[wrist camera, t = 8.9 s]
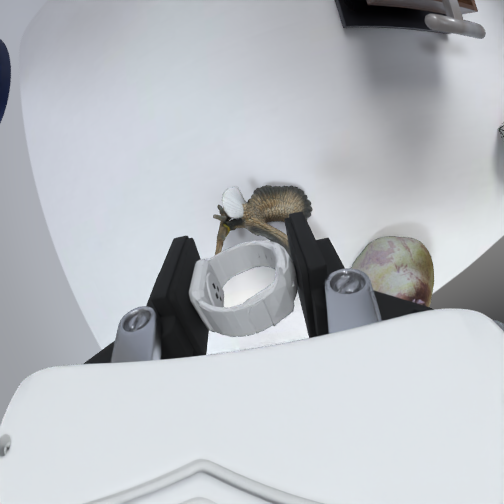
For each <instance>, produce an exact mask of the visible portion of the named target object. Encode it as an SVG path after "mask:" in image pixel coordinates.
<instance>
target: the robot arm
mask: <svg viewBox="0 0 504 504" xmlns="http://www.w3.org/2000/svg"><path fill="white" fill-rule="evenodd" d="M284 220H285V226H286V231H287V237H288V243H289V248H290V254H291V260H292V262H293V263H294V267H295V270H296V277H297V284H298V285H297V290H298V294H299V298H300V302H301V306H302V310H303V314H304V318H305V322H306V326H307V330H308V335H309V338H307V339H302V340H297V341H292V342H287V343H282V344H276V345H270V346H265V347H259V348H252V349H246V350H240V351H233V352H226V353H218V354H210V355H206V351H207V342H208V333H209V330H208V329H207V327H206V326H205V324H204V322H203V321H202V319H201V318H200V316H199V314H198V313H197V311H196V309H195V308H194V306H193V304H192V302H191V300H190V299H189V297H190V296H189V289H190V284H191V280H192V275H193V271H194V267H195V264H196V262H197V261H199V260H201V259H200V256H199V253H198V251H197V248H196V245H195V242H194V240H193V238H188V236H183V237H178V238H174V239H173V242H172V244H171V246H170V249H169V251H168V254H167V256H166V259H165V261H164V263H163V266H162V268H161V271H160V273H159V274H158V277H157V279H156V282H155V285H154V287H153V290H152V292H151V295H150V298H149V300H148V303H147V306H143V307H138V308H135V309H133V310H131V311H129V312H128V313H127V314H126V315H124V316H123V318H122V319H121V320H120V323H119V326H118V330H117V334H116V339H115V341H114V342H112V343H111V344H110V345H108V346H107V347H106V348H104V349H103V350H102V351H100V352H99V353H97V354H96V355H95V356H93V357H92V358H91V359H89V360H88V361H87V362H85V363H84V364H77V365H62V366H54V367H50V368H46V369H43V370H40V371H38V372H35V373H33V374H32V375H30V376H28V377H27V378H26V379H24V380H23V381H22V382H21V384H20V385H19V387H18V389H17V390H16V392H15V394H14V396H13V398H12V400H11V402H10V404H9V406H8V408H7V410H6V413H5V415H4V417H3V420H2V422H1V425H0V504H504V324H502V323H501V322H499V321H495V320H491V319H490V318H489V317H487V316H485V315H484V314H482V313H480V312H477V311H472V310H466V309H437V310H434V309H432V308H430V307H427V306H424V305H421V304H417V303H414V302H411V301H407V300H404V299H401V298H398V297H394V296H391V295H388V294H385V293H381V292H378V291H375V290H373V287H372V284H371V281H370V278H369V277H368V275H367V274H366V273H364V272H363V271H360V270H357V269H352V268H350V269H345V268H344V266H343V264H342V262H341V260H340V258H339V256H338V255H337V253H336V251H335V249H334V247H333V245H332V243H331V242H330V240H329V238H324V239H319V240H315V238H314V235H313V233H312V231H311V229H310V227H309V225H308V223H307V220H306V218H305V216H304V214H303V212H302V211H301V212H296V213H291V214H289V218H284Z"/></svg>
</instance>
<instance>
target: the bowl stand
mask: <svg viewBox="0 0 504 504" xmlns="http://www.w3.org/2000/svg"><path fill="white" fill-rule="evenodd" d="M335 1H336V4H337V8H338V11H339V14H340V17H341V21H342V24H343V28H350V27H381V28H402V29H414V30H424V31H432V32H439V33H446V34H449V33H448V32H442V31H435V30H432V29H430V28H429V27H428V26H427V25H426V24H425V16H426V15H428V14H438V15H443V16H447V15H446V14H442V13H436V12H430V11H424V10H417V9H409V8H401V7H390V6H374V5H368V4H367V0H335Z"/></svg>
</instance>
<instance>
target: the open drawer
mask: <svg viewBox="0 0 504 504" xmlns="http://www.w3.org/2000/svg"><path fill="white" fill-rule="evenodd" d="M367 4H368V5H374V6H390V7H401V8H409V9H417V10H424V11H430V12H436V13H442V14H446V15H447V16H443V15H438V14H428V15H426V16H425V24H426V25H427V26H428V27H429V28H430V29H432V30H435V31H442V32H448V33H454V34H459V35H464V36H469V37H474V38H478V39H482V38H484V37H485V34H486V33H485V29H484V28H483V27H482V26H481V25H480V24H477V23H474V22H470V21H466V20H463V17H462V14H466V13H472V12H478V10H477V7H476V4H475V1H474V0H367Z"/></svg>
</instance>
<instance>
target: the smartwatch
mask: <svg viewBox="0 0 504 504" xmlns="http://www.w3.org/2000/svg"><path fill="white" fill-rule="evenodd" d="M261 266H265V267H271V268H273V269H275V270H276V273H275V280H274V282H273V283H272V284H271V285H269V286H268V287H266V288H265V289H263V290H262V291H260V292H258V293H257V294H255V295H254V296H252V297H251V298H249V299H248V300H247V301H245V302H244V303H243V304H240V305H237V306H233V307H230V308H225V307H224V291H223V289H222V288H223V286H224V285H225V284H226V282H227V281H229V280H230V279H231V278H232V277H234V276H236V275H238V274H241V273H243V272H245V271H248V270H250V269H252V268H254V267H261ZM297 285H298V284H297V277H296V270H295V267H294V263H293V262H292V260H291V258H290V256H289V255H288V253H287V252H286V250H285V249H284V247H282V246H281V245H280V244H278V243H275V242H272V241H268V240H262V241H250V242H246V243H243V244H239V245H236V246H233V247H231V248H228V249H226V250H224V251H222V252H220V253H218V254H216V255H214V256H213V257H211V258H210V259H206V260H205V259H201V260H199V261H197V262H196V264H195V267H194V271H193V275H192V280H191V284H190V289H189V296H190V297H189V299H190V300H191V302H192V304H193V306H194V308H195V309H196V311H197V313H198V314H199V316H200V318H201V319H202V321H203V322H204V324H205V326H206V327H207V329H208V330H210V331H212V332H217V333H220V334H222V335H226V336H231V337H236V336H238V337H243V336H246V335H247V336H249V335H253V334H255V333H259V332H261V331H264V330H266V329H267V328H269V327H271V326H272V325H273V326H275V325H276V324H278V323H279V322H280V321H281V320H282V319H284V318H285V317H287V316H288V315H289V314H290V313H291V312H293V309H294V300H295V297H296V294H297Z"/></svg>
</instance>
